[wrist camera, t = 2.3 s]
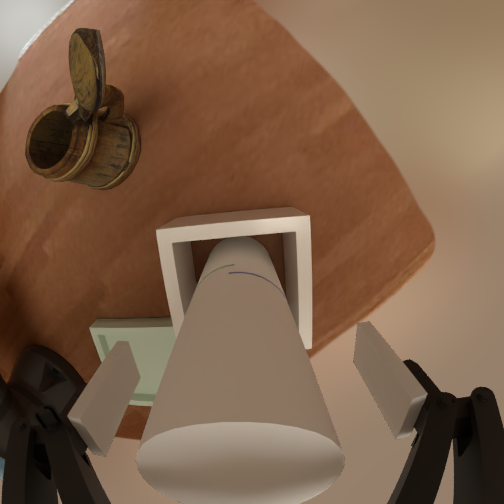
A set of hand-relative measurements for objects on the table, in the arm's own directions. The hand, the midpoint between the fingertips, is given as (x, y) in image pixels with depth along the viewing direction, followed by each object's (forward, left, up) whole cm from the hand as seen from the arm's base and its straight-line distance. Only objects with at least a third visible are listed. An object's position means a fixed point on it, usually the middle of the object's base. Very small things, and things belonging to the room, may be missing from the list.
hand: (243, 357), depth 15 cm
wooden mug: (-12, +16, -17) cm, 27 cm away
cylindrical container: (0, 0, -17) cm, 17 cm away
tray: (-13, -12, -17) cm, 25 cm away
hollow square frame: (0, 0, -17) cm, 17 cm away
